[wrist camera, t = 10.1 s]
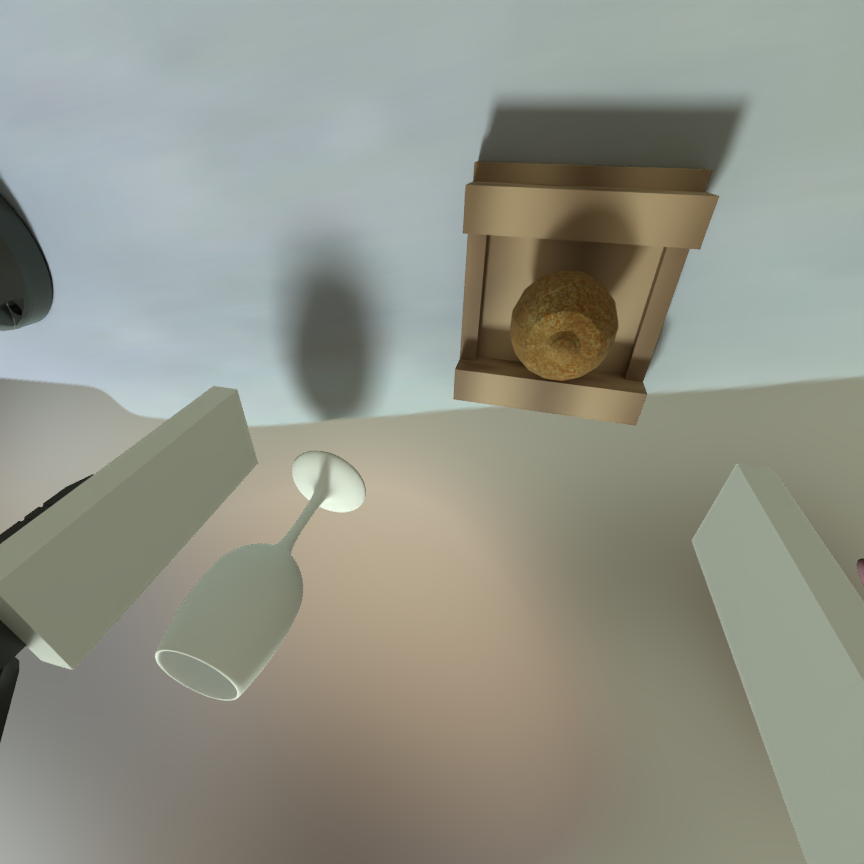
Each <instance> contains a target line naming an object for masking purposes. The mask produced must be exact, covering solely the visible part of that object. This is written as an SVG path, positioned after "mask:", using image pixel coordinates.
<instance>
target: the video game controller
mask: <svg viewBox="0 0 864 864" xmlns="http://www.w3.org/2000/svg"><path fill="white" fill-rule="evenodd" d="M857 569H858V573H859V576H860V579H861V581H862V583H863V585H864V559H859V560H858V562H857Z"/></svg>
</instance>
